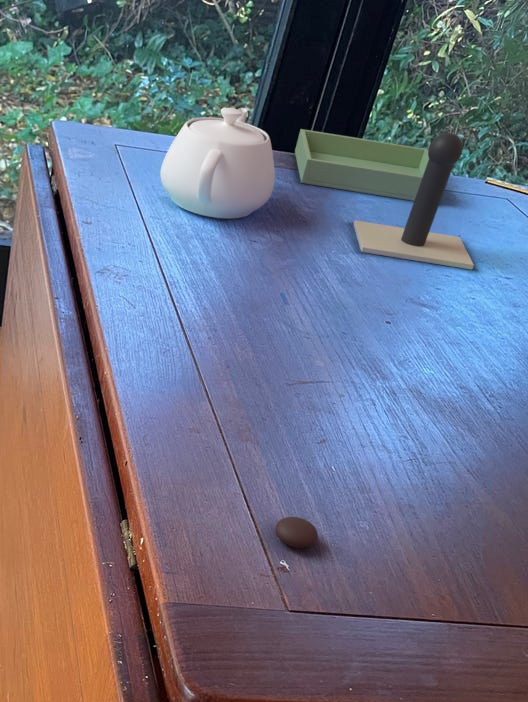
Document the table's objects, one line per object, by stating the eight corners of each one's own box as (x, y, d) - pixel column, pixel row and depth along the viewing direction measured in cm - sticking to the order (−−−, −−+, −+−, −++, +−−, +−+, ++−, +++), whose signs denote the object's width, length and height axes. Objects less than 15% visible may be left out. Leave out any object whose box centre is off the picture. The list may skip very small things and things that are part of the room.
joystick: (458, 241, 122) (501, 131, 113) (472, 269, 115) (518, 154, 107) (353, 224, 122) (388, 113, 114) (361, 252, 116) (398, 135, 107)
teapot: (252, 245, 113) (277, 144, 106) (136, 218, 115) (153, 118, 108) (279, 189, 129) (303, 98, 122) (178, 167, 131) (195, 76, 124)
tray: (420, 171, 142) (428, 149, 140) (436, 204, 132) (445, 181, 130) (294, 151, 143) (300, 128, 141) (301, 183, 132) (307, 159, 130)
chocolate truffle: (266, 542, 70) (272, 524, 69) (281, 523, 72) (287, 505, 71) (305, 559, 69) (312, 541, 68) (319, 539, 71) (326, 521, 70)
